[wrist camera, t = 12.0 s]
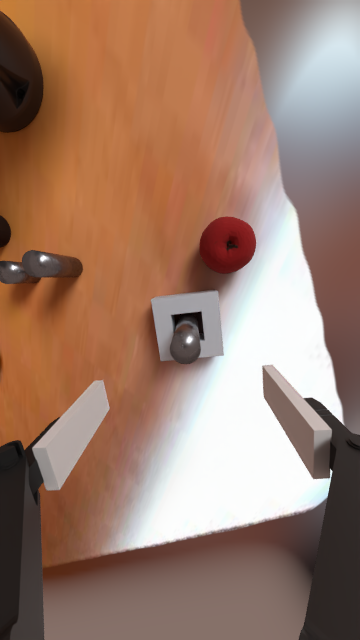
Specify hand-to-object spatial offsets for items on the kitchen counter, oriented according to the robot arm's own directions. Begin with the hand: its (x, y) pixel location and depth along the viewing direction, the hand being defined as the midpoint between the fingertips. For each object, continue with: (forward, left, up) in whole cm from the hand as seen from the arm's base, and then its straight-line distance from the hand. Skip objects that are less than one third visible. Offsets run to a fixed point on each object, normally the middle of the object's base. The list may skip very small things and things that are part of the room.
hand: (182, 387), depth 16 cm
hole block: (0, 0, -25) cm, 25 cm away
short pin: (-14, -31, -25) cm, 42 cm away
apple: (-13, +8, -26) cm, 30 cm away
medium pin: (-14, -22, -25) cm, 36 cm away
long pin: (0, 0, -25) cm, 25 cm away
